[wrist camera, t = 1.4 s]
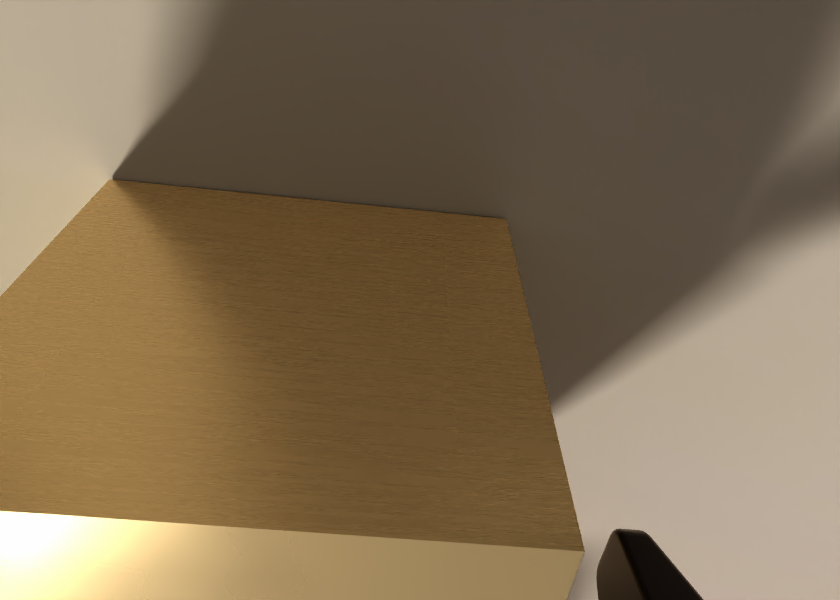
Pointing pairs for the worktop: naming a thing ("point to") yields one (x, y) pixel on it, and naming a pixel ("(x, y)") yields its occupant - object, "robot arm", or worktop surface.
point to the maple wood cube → (276, 408)
